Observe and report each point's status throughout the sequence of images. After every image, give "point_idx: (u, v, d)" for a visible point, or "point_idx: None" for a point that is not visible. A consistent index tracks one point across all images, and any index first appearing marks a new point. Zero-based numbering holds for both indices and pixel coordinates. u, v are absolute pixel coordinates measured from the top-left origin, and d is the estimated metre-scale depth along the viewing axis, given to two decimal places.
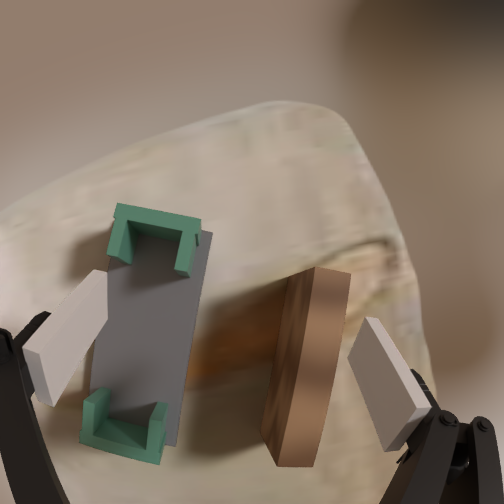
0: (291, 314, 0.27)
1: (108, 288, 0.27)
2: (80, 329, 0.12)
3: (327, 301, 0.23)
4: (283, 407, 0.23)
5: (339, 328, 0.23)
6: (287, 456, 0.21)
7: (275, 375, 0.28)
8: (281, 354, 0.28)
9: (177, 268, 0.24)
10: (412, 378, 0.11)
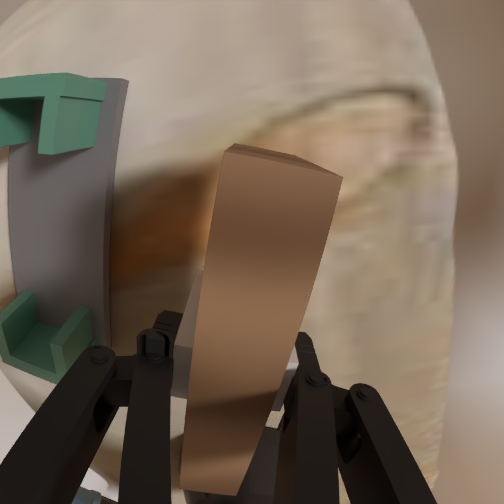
0: None
1: (12, 175, 0.18)
2: None
3: (258, 254, 0.08)
4: None
5: (291, 321, 0.09)
6: (192, 483, 0.13)
7: None
8: None
9: (41, 151, 0.13)
10: None
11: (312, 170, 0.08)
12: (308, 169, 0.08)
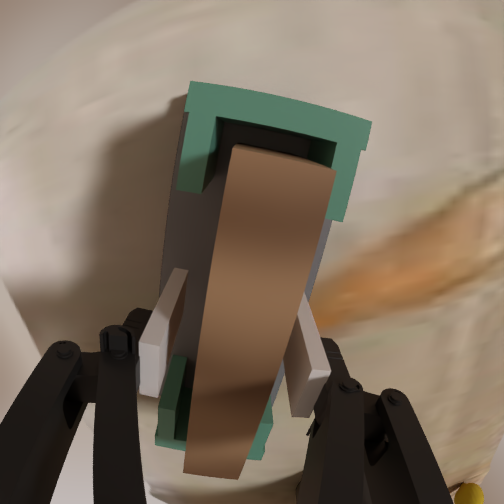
0: None
1: (174, 218, 0.17)
2: (174, 323, 0.14)
3: (261, 239, 0.09)
4: None
5: (291, 301, 0.10)
6: (196, 466, 0.14)
7: None
8: None
9: (325, 215, 0.12)
10: (319, 343, 0.12)
11: (309, 164, 0.09)
12: (306, 164, 0.09)
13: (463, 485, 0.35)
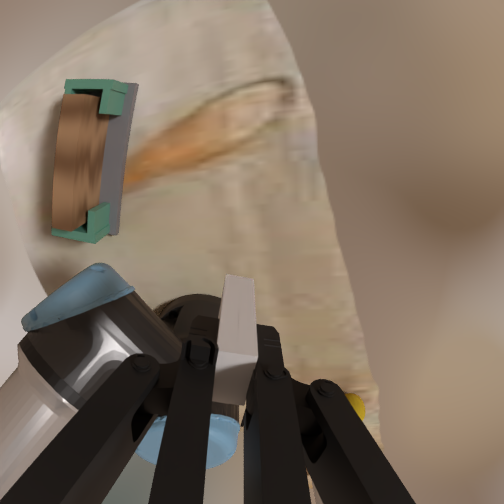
0: None
1: None
2: None
3: (69, 114, 0.29)
4: None
5: (76, 131, 0.30)
6: (56, 220, 0.33)
7: None
8: None
9: (100, 112, 0.32)
10: (253, 329, 0.13)
11: (79, 94, 0.28)
12: (78, 94, 0.28)
13: None
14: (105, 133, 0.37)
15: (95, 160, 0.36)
